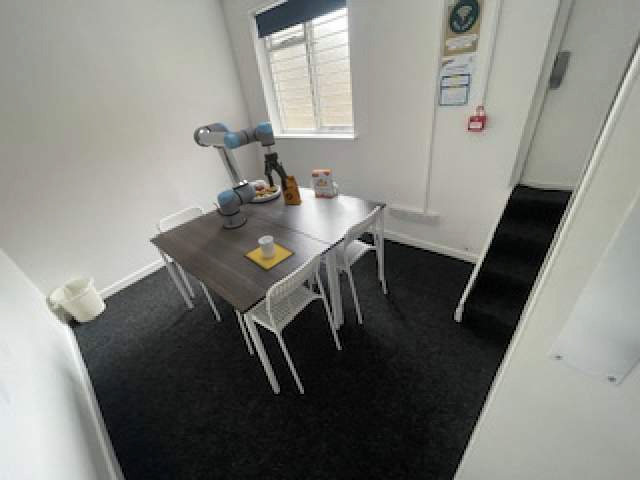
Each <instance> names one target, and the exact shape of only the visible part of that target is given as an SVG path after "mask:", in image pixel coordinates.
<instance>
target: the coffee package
mask: <svg viewBox="0 0 640 480" xmlns="http://www.w3.org/2000/svg"><path fill="white" fill-rule="evenodd" d="M287 177H288V179H286V183H287V189H288V190H286V191H283V187H282V183H281V182H280V188H281V193H282V196H283V201H284V205H299V204H300V203H301V202H302V200H301V199H302V198H301V193H300V190H299V186H298V183H297V180H296V178H295V176H294V175H287ZM281 180H282V179H281V178H280V181H281Z"/></svg>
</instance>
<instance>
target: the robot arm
mask: <svg viewBox="0 0 640 480" xmlns="http://www.w3.org/2000/svg"><path fill="white" fill-rule="evenodd" d="M193 140H194V142H195V143H196V145H198V146H199V147H202V148H208V147H211V146H212V147H213V149H215V150H216V151H217V152H218V155H219V157H220V159H221V161H222V163H223V166H224V168H225V170H226V172H227V175H228V177H229V179H230V181H231V183H232V185H231V189H226V190H223V191H221V192H220V193H219V194H218V195H217V197H216V198H217V202H218V205H219V206H218V205H217V203H215V202H213V205H215V206H216V209H217V211H218V212H219V214H220V215H222V216H223V226H224V228H225V229H232V230H233V229H237V228H240V227H242V226H243V225H245V224H246V222H247V219H246V216H244V214H243V212H241V209H240V207H241V206H244V205H246V204H248V203H250V202H251V200H253V199H254V198H255V195H256V193H255V189H254V187H253V186H254V185H253V184H251V183H249V182H248V181H247V180H245V177H244V176H243V173H242V171H241V168H240V166H239V163H238V161H237V158H236V156H235V154H234V152H233V150H235V149H237V148H238V149H239V148H241V147H243V146H247V145H250V144H253V143H256V142H257V143H258V142H259V143H260V144H261V145H260V146H261V148H262V153H263V157H264V161H263V163H264V176H266V177H267V181H268V185H270V187H273V186H274V185H275V183H274V179H273V175H272V173H273V171H274V172H276V174H277V175H278V176H279V178H280V184H281V183H282V187H283V191H286V190H288V189H287V183H286V179H288V177H287V176H288V175H287V172H286V170H285V169H284V166H283V163H282V161H278V159H279V154H278V152H277V146H276V140H275V135H274V130H273V127H272V123H271V122H270V121H264V122H260V123H257V124H256V126H247V127H245V129H241V130H238V131H231V130H230V128H229V126H228V125H226V124H225V123H223V122H214V123H211V124H208V125H204V126H199V127H197V128H196V129H195V130H194V132H193ZM281 179H282V180H281ZM219 208H220V209H219ZM220 210H221V211H220Z"/></svg>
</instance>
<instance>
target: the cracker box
mask: <svg viewBox="0 0 640 480" xmlns="http://www.w3.org/2000/svg"><path fill="white" fill-rule="evenodd" d="M311 177H312V185H313V191H314V197H315V198H323V199H324V198H325V199H332V198H333V197H334V196H335V191H334V181H333V173H332V169H313V170H312V171H311Z"/></svg>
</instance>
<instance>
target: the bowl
mask: <svg viewBox="0 0 640 480" xmlns="http://www.w3.org/2000/svg"><path fill="white" fill-rule="evenodd" d="M252 186H253V187H254V189H255V193H256V195H255V198H254V199H253V200H251V201H250V202H251V203H264V202H269V201H272V200H274V199H276V198H277V197H278V196H279V195H281V193H282V189H281V185H278V184H274V186H273V187H270V185H269V184H258V185H256V184H254V185H252Z"/></svg>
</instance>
